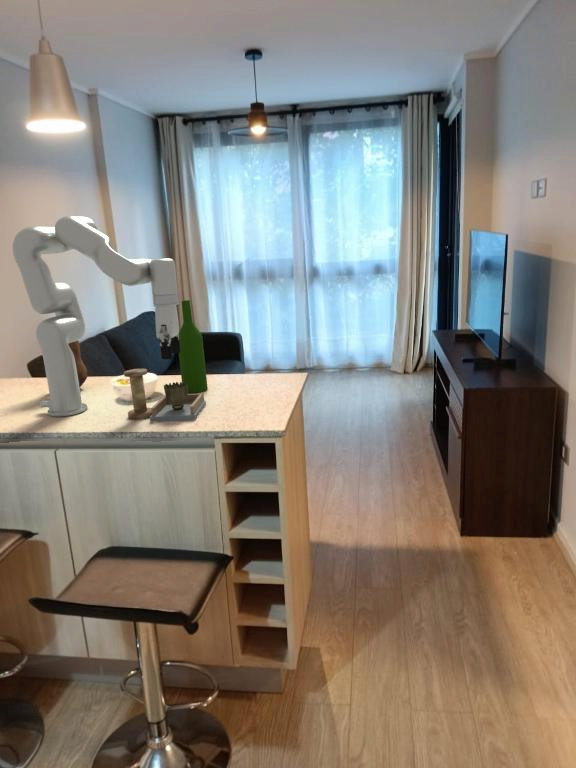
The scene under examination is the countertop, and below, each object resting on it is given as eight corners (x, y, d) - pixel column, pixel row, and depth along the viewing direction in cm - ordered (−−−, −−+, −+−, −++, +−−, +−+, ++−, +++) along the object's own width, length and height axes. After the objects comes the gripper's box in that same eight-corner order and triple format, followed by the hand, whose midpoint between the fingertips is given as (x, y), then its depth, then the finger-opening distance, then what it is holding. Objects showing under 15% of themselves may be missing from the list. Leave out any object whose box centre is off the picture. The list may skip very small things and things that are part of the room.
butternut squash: (62, 387, 236) (51, 324, 230) (94, 385, 235) (85, 322, 229) (46, 396, 222) (34, 330, 216) (80, 394, 221) (70, 328, 215)
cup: (191, 410, 184) (188, 385, 182) (167, 413, 183) (164, 388, 181) (188, 404, 191) (186, 380, 189) (165, 407, 190) (162, 383, 188)
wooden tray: (150, 421, 180) (148, 409, 180) (164, 407, 196) (163, 395, 195) (195, 419, 179) (194, 407, 178) (206, 405, 195) (204, 393, 194)
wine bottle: (202, 386, 221) (192, 298, 213) (211, 390, 213) (202, 299, 205) (179, 390, 216) (169, 301, 209) (188, 395, 209) (178, 302, 201)
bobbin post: (124, 420, 184) (118, 374, 181) (133, 412, 192) (127, 369, 188) (149, 419, 183) (144, 373, 180) (157, 411, 191) (151, 367, 188)
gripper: (161, 297, 188) (166, 350, 192) (145, 304, 171) (151, 362, 175) (184, 296, 187) (189, 350, 191) (170, 303, 170) (176, 361, 175)
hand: (171, 355), depth 183 cm, fingers open, 9 cm apart
